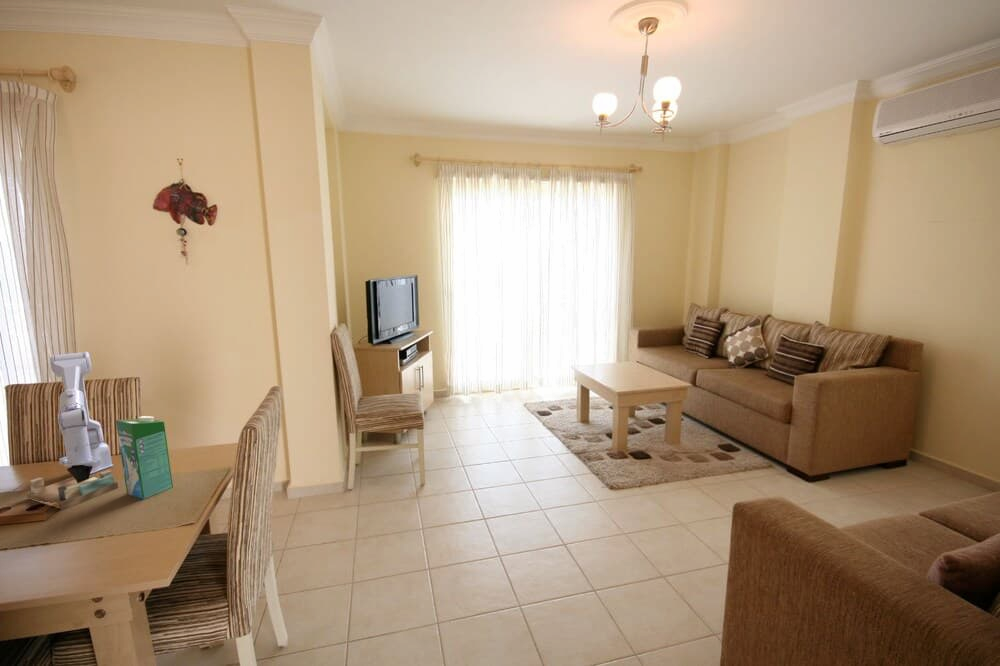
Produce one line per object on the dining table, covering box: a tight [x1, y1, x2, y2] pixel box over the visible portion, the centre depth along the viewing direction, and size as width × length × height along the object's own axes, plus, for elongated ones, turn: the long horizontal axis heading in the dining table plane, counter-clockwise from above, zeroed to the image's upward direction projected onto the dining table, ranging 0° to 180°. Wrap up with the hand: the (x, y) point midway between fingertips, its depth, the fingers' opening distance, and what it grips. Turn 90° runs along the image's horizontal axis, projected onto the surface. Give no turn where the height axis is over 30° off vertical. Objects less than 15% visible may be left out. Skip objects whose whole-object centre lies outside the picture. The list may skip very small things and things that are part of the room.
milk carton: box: [115, 415, 174, 500], centre depth 149 cm, size 9×9×25 cm
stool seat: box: [26, 469, 119, 511], centre depth 149 cm, size 15×19×6 cm
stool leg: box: [58, 476, 99, 500], centre depth 145 cm, size 10×2×4 cm, turn 159°
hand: (84, 486), depth 149 cm, fingers closed
